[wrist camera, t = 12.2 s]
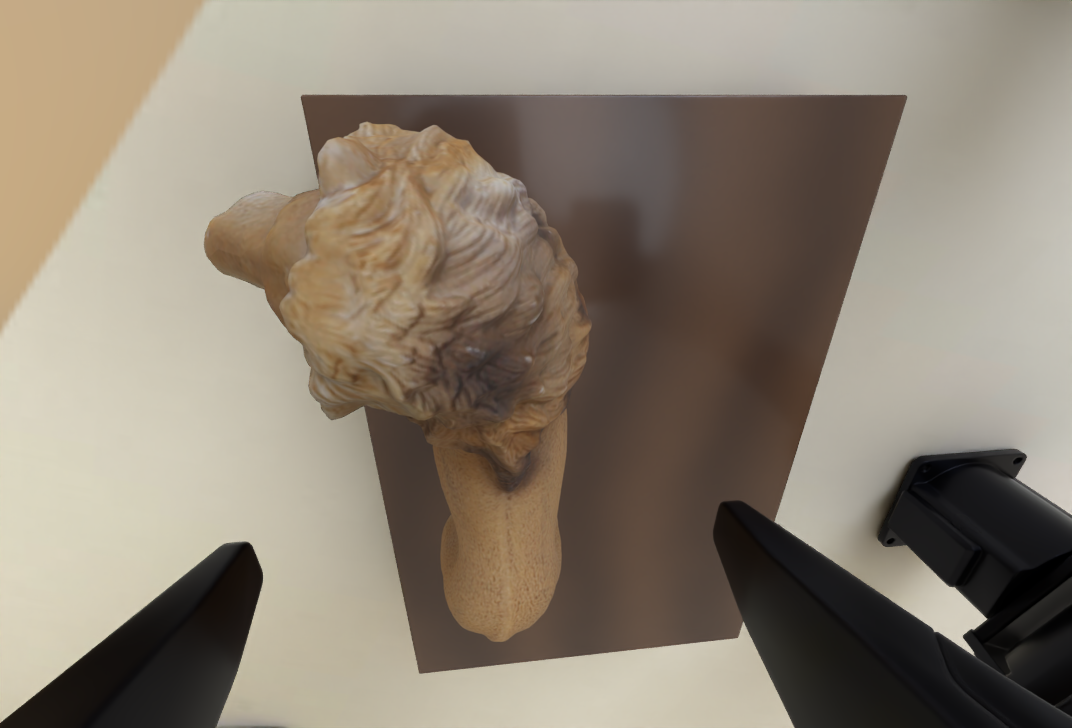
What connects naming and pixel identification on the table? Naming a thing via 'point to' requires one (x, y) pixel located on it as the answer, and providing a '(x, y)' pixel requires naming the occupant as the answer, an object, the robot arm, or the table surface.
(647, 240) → the shelf
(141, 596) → the table surface
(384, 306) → the lion figurine
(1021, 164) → the table surface
